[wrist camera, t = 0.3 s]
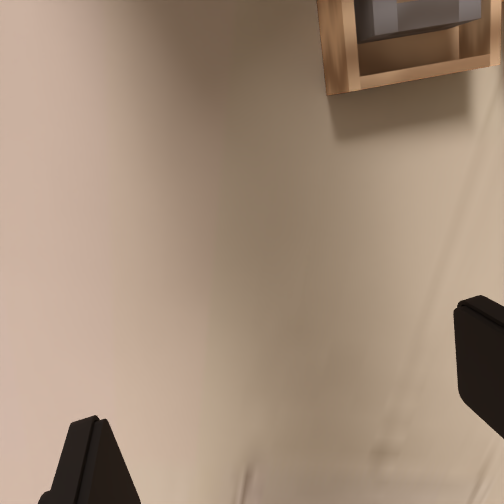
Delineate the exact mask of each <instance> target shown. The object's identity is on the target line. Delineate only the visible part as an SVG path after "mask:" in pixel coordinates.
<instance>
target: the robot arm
mask: <svg viewBox="0 0 504 504" xmlns="http://www.w3.org/2000/svg"><path fill="white" fill-rule="evenodd" d="M453 315H454V330H455V346H456V362H457V378H458V390H459V394H460V396H461V398H462V400H463V401H464V403H465V404H466V405H467V406H468V407H470V408H471V409H472V410H473V411H474V412H475V413H476V414H477V415H478V416H479V417H480V418H482V419H483V420H484V421H485V422H486V423H487V424H488V425H489V426H490V427H491V428H492V429H494V430H495V431H496V432H497V433H498V434H499V435H500V436H501V437H502V438H503V439H504V306H502V305H500V304H498V303H496V302H494V301H492V300H490V299H489V298H487V297H485V296H482V295H479V296H475V297H472V298H469V299H466V300H462V301H460V302H459V303H458V305H457V308H456V309H455V310H454V314H453ZM38 504H141V502H140V499H139V496H138V494H137V491H136V489H135V486H134V484H133V481H132V479H131V476H130V474H129V471H128V469H127V466H126V464H125V462H124V459H123V457H122V454H121V452H120V449H119V447H118V444H117V442H116V439H115V437H114V434H113V432H112V430H111V427H110V425H109V422H108V421H107V419H102V420H100V419H99V418H98V417H97V416H96V415H94V416H91V417H88V418H85V419H82V420H78V421H75V422H72V423H71V425H70V427H69V430H68V433H67V437H66V440H65V443H64V447H63V450H62V453H61V457H60V460H59V464H58V467H57V470H56V474H55V477H54V480H53V484H52V487H51V490H50V491H47V492H45V493H44V494H43V495H42V496H41V498H40V500H39V502H38Z"/></svg>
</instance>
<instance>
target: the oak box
mask: <svg viewBox="0 0 504 504" xmlns="http://www.w3.org/2000/svg"><path fill="white" fill-rule="evenodd" d="M317 8H318V17H319V27H320V36H321V46H322V55H323V64H324V74H325V83H326V93H327V95H333V94H340V93H346V92H351V91H357V90H363V89H368V88H374V87H379V86H385V85H390V84H396V83H401V82H407V81H412V80H418V79H423V78H429V77H434V76H440V75H445V74H451V73H456V72H462V71H467V70H473V69H478V68H484V67H489V66H495V65H500V52H501V0H317Z"/></svg>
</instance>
